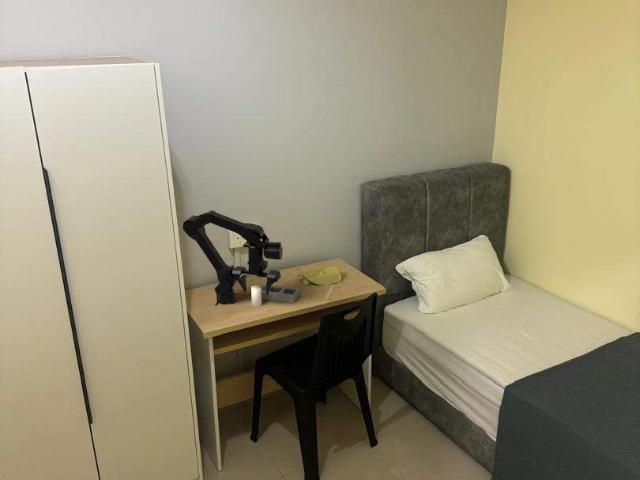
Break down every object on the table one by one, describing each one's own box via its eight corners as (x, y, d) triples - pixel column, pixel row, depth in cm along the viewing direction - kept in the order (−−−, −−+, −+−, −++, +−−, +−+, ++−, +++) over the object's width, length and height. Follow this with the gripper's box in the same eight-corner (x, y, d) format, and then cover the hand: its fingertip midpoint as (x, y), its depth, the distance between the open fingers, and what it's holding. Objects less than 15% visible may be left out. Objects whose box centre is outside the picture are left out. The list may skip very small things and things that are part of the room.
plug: (250, 306, 234) (249, 287, 231) (253, 302, 238) (253, 283, 235) (259, 308, 233) (259, 288, 230) (263, 303, 237) (262, 284, 234)
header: (251, 300, 241) (251, 291, 240) (257, 292, 248) (257, 283, 247) (293, 305, 237) (293, 296, 236) (298, 297, 245) (298, 288, 243)
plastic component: (326, 268, 269) (339, 265, 261) (329, 283, 269) (342, 281, 261) (290, 274, 258) (303, 271, 250) (294, 290, 257) (306, 288, 249)
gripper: (284, 252, 234) (284, 288, 239) (240, 248, 238) (241, 283, 243) (276, 262, 224) (276, 299, 229) (230, 257, 228) (231, 294, 233)
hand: (256, 293), depth 234 cm, fingers open, 9 cm apart
